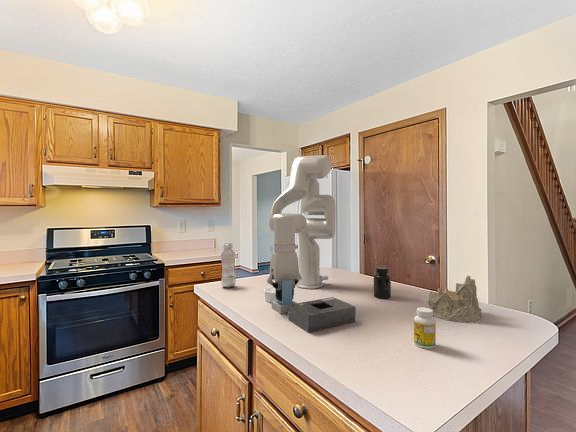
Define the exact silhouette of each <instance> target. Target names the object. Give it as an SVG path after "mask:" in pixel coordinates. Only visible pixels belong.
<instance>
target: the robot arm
mask: <svg viewBox="0 0 576 432" xmlns="http://www.w3.org/2000/svg"><path fill="white" fill-rule="evenodd" d="M331 159H332V158H331V157H330V156H329V155H327V154H324V155H323V154H319V155H303V156H297V157H296V158H294V160H293V163H292V164H291V166H290V171H289V172H290V173H289V177H288V182H287V187H286V190H284V191H283V192H282V193H281V194H280V195H279V196H278V197H277V198H276V199H275V200H274V201H273V204H272V206H271V210H270V213H269V220H268V225H269V229H270V231H271V232H273V233H274V234H273V235H274V236H273V237H274V239H273V242H274V244H273V245H274V246H273V248H274V249H273V252H272V253H271V257H270V263H269V277H268V278H267V279H266V283H267V284H269V285H271V287H274V288H275V289H276V299H277V300H278V301H282V290H281V283H282V281H285V280H292V300H294V296H295V288H296V287H298V288H301V289H307V290H308V289H309V290H311V289H312V290H313V289H318V288H319V289H320V288H322V287H323V286H324V283H323V282H324V281H328V280H329V276H328V275H321V273H320V272H321V271H320V270H321V268H320V266H321V265H320V263H321V262H320V260H321V259H320V258H321V251H320V250H321V249H320V246H319V244H318V242H317V241H316V240H331V239H333V238H334V236H335V235H336V234H335V233H336V200H335V198H334V196H333V195H331V194H320V183H319V181H318V180H320V179H321V180H322V179H324V178H325V177H326V176H328V175H329V174H330V172H331V170H332V164H333V163H332V160H331ZM298 201H300V210H301V211H300V212H301V213H286V212H285V213H283V211H284V209H285V208H287V207H288V206H290V205H292V204H294V203H297V202H298ZM303 214H304V215H303ZM305 215H306V216H324V217H323V218H322V217H321V218H320V217H319V218H318V217H305ZM296 234H298V235H297V236H298V245H297V244H296ZM298 248H299V249H298ZM297 249H298V251H299V252H298V253H299V255H298V253H297V252H296V250H297ZM298 257H299V258H298Z"/></svg>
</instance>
